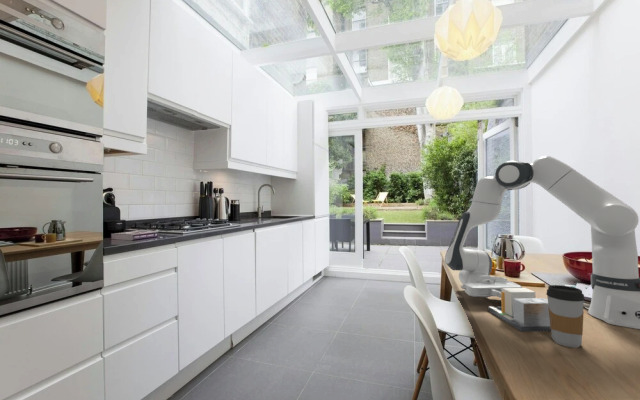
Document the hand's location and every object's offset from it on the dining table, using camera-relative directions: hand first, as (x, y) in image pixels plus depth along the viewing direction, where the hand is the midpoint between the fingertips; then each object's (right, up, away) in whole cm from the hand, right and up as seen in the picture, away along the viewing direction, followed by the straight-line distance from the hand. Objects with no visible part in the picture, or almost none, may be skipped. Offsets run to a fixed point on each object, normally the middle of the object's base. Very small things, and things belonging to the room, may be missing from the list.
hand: (504, 295), depth 108 cm
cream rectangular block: (-1, -4, -7) cm, 8 cm away
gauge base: (0, -5, -9) cm, 10 cm away
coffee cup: (+2, -5, -25) cm, 26 cm away
